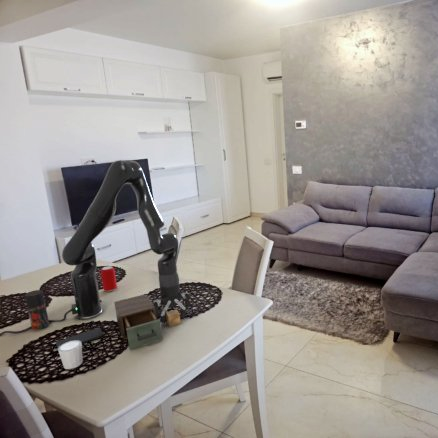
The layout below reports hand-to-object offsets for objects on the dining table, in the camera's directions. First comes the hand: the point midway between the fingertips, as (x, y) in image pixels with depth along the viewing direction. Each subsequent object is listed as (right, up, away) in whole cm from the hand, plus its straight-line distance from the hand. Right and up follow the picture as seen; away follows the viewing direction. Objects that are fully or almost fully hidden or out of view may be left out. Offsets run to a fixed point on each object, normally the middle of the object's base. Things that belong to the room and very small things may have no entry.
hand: (173, 320), depth 147 cm
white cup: (-26, -8, -25) cm, 37 cm away
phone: (-32, -5, -11) cm, 34 cm away
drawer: (-7, -3, -13) cm, 15 cm away
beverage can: (-44, +5, +36) cm, 57 cm away
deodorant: (-55, -3, +1) cm, 55 cm away
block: (0, -1, 0) cm, 1 cm away
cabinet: (-14, -2, -2) cm, 15 cm away
